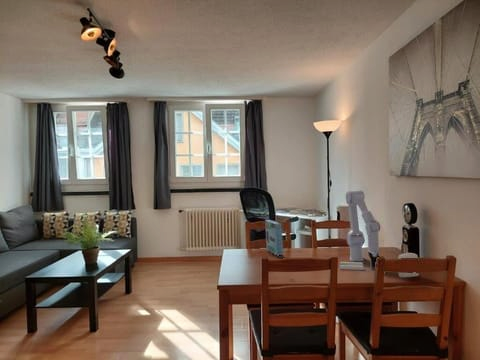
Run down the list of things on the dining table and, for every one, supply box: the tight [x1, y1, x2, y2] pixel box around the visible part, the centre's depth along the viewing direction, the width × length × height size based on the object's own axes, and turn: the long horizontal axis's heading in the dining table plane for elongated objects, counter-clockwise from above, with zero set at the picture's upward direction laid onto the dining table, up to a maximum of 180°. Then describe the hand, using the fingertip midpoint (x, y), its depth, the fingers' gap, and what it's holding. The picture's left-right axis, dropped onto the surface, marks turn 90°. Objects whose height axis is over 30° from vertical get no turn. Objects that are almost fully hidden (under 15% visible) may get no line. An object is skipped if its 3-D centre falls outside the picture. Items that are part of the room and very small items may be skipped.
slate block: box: [369, 260, 376, 270], centre depth 194 cm, size 4×4×4 cm
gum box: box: [264, 219, 284, 256], centre depth 239 cm, size 20×5×23 cm, turn 17°
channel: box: [339, 261, 365, 271], centre depth 198 cm, size 8×13×2 cm, turn 73°
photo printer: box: [397, 252, 420, 278], centre depth 178 cm, size 10×4×12 cm, turn 96°
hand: (374, 265), depth 194 cm, fingers closed on slate block, 4 cm apart
